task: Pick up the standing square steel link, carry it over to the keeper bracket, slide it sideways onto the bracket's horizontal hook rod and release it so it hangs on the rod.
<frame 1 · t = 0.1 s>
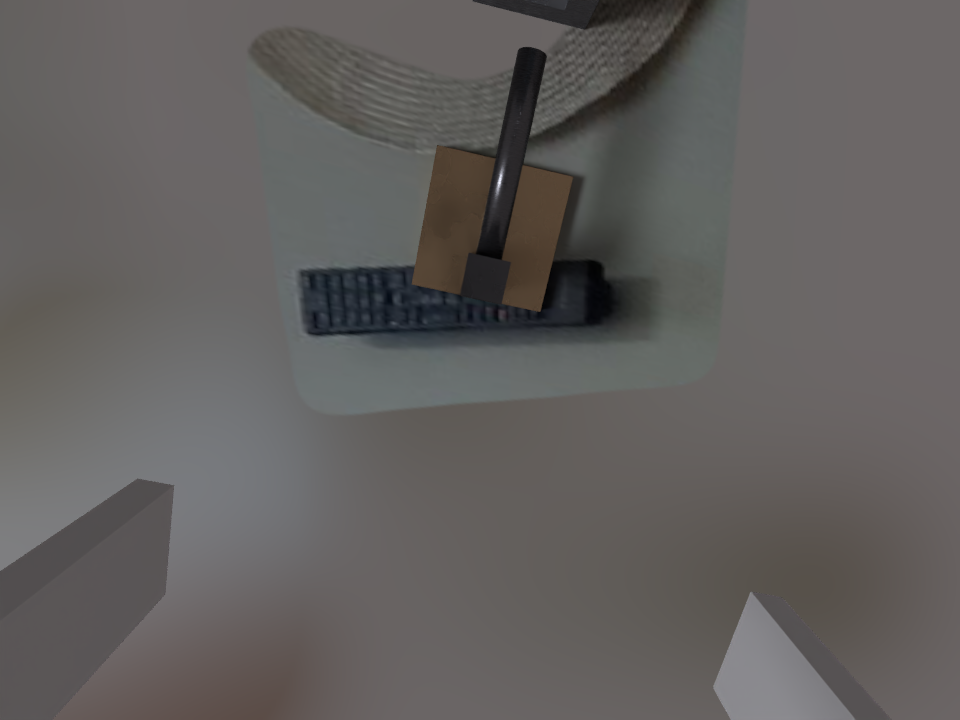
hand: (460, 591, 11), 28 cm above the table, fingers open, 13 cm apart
keeper: (490, 232, 36), on the table
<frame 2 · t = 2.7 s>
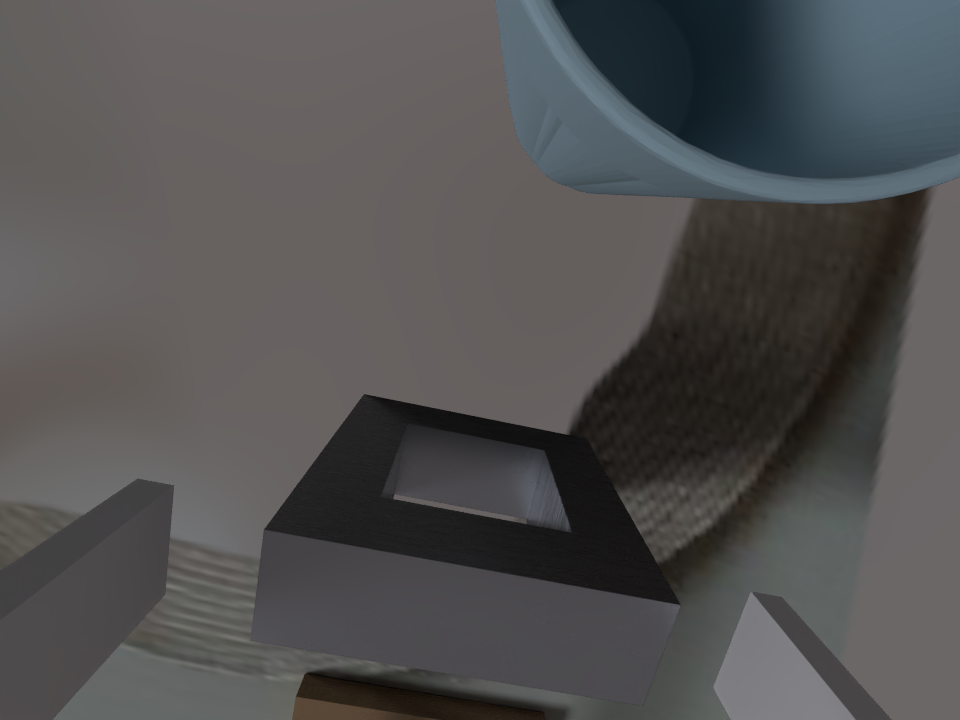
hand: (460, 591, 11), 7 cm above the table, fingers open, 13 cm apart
cup: (599, 98, 14), on the table
link: (469, 448, 17), on the table
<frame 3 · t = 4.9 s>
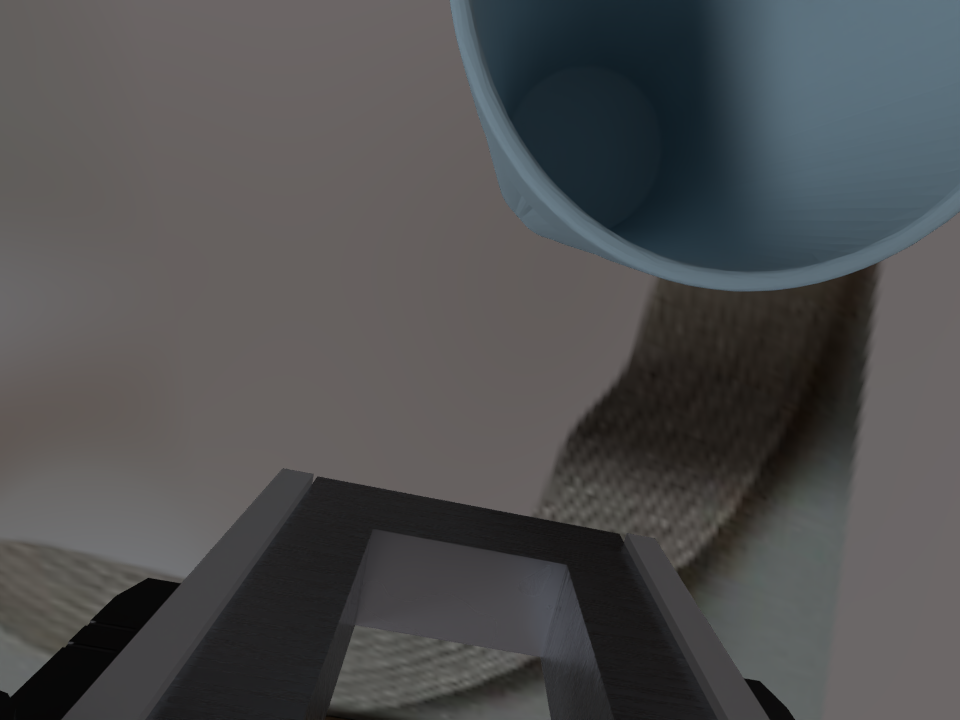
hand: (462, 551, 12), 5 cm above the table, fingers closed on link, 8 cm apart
cup: (577, 159, 16), on the table
link: (461, 547, 13), point 5 cm above the table, touching gripper
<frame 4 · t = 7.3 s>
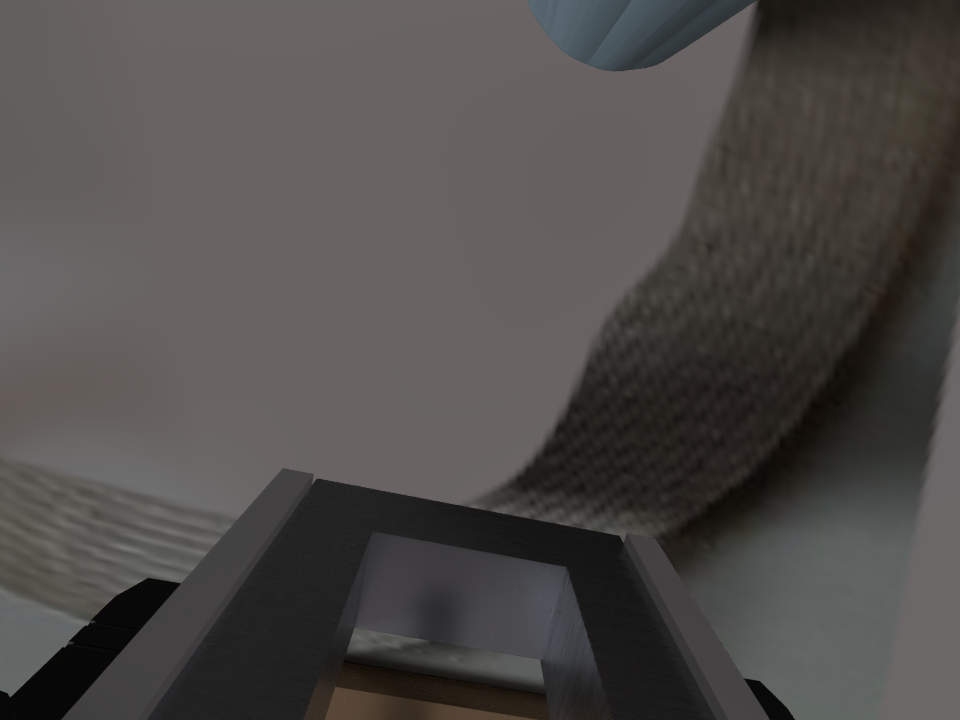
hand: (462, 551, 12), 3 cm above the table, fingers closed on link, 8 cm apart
link: (461, 549, 12), point 3 cm above the table, touching gripper
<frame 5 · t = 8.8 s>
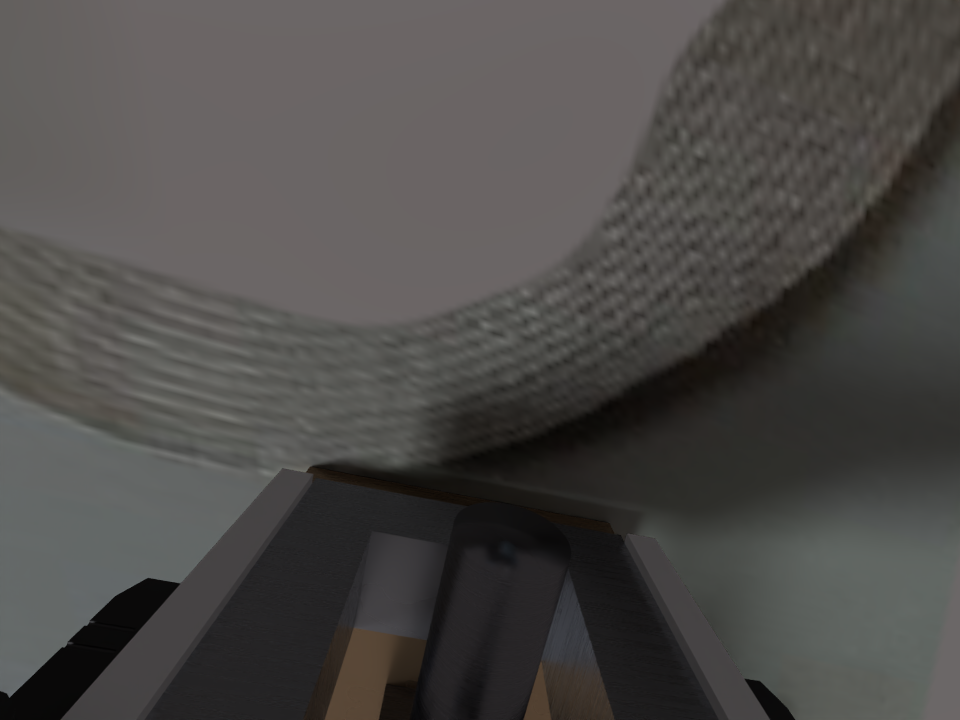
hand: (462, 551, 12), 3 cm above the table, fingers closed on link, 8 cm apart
keeper: (433, 622, 17), on the table
link: (461, 549, 12), point 3 cm above the table, touching gripper
when the fingers open (3 cm above the table, at t = 10.0 s): link stays where it is, resting on keeper.
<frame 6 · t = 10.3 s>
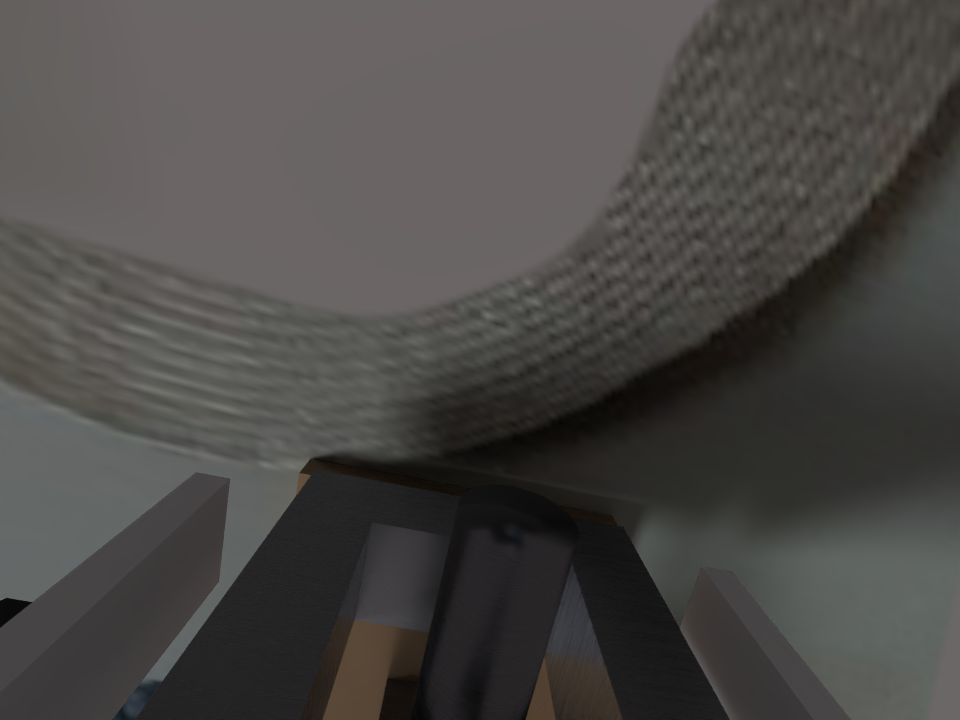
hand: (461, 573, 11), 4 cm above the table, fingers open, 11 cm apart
keeper: (435, 616, 16), on the table
link: (462, 541, 12), point 3 cm above the table, touching keeper
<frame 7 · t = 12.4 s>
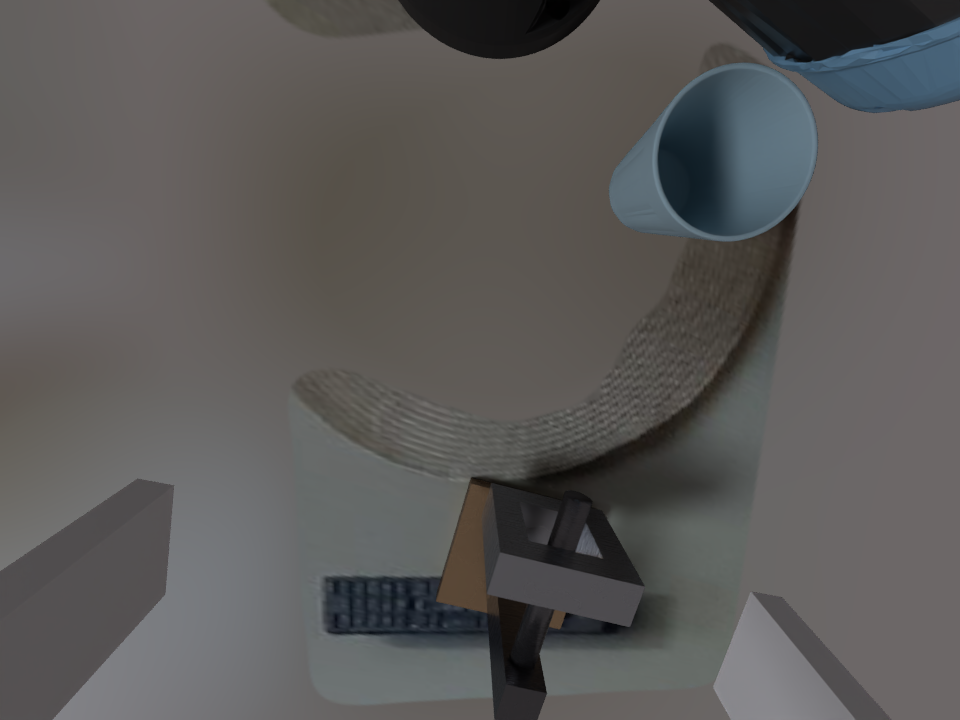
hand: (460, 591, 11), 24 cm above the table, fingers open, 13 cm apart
keeper: (515, 551, 37), on the table
cup: (647, 191, 32), on the table
link: (541, 513, 33), point 3 cm above the table, touching keeper
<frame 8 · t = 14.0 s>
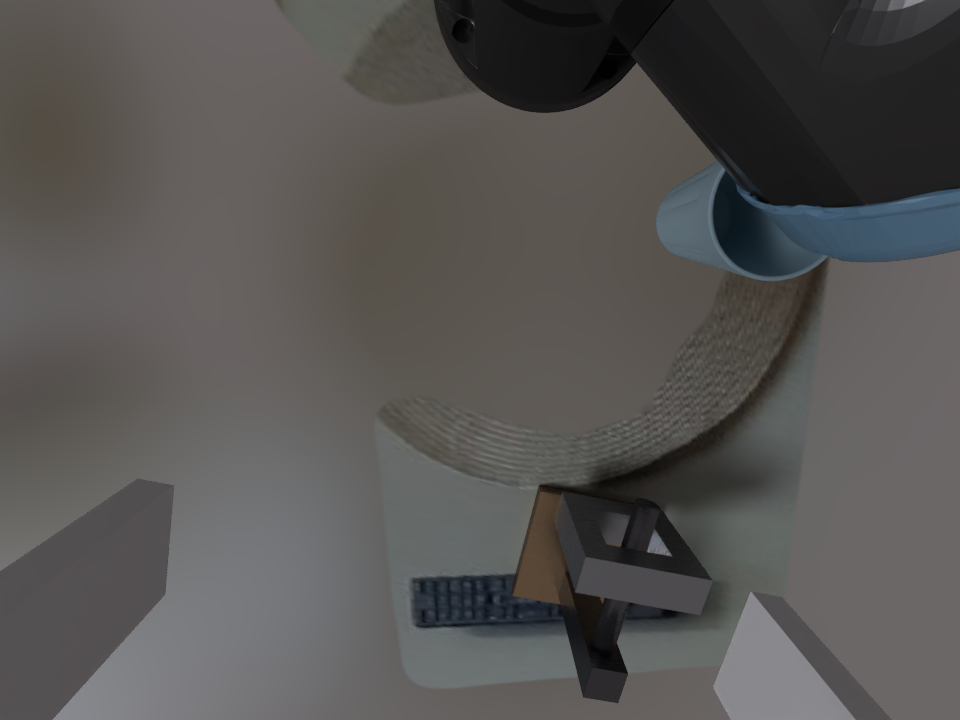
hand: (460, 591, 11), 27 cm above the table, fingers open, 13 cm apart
keeper: (581, 548, 41), on the table
cup: (691, 220, 35), on the table
link: (608, 515, 37), point 3 cm above the table, touching keeper
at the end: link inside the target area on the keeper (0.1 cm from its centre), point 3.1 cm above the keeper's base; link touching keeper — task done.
